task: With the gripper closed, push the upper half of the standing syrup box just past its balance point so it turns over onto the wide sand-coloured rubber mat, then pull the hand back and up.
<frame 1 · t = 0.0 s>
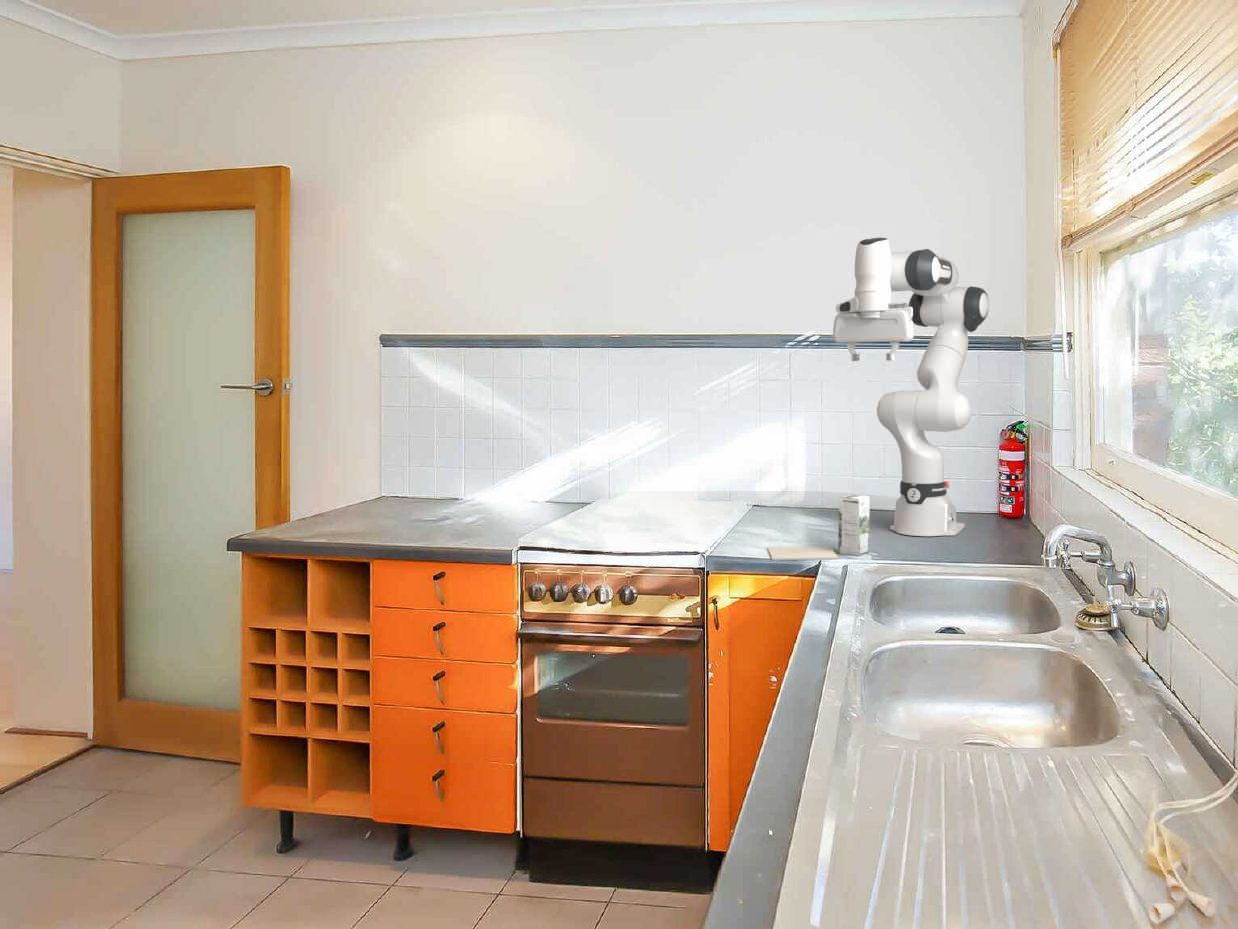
hand: (872, 360, 263), 48 cm above the counter, fingers open, 8 cm apart
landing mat: (801, 553, 267), on the counter
syrup box: (853, 554, 266), on the counter
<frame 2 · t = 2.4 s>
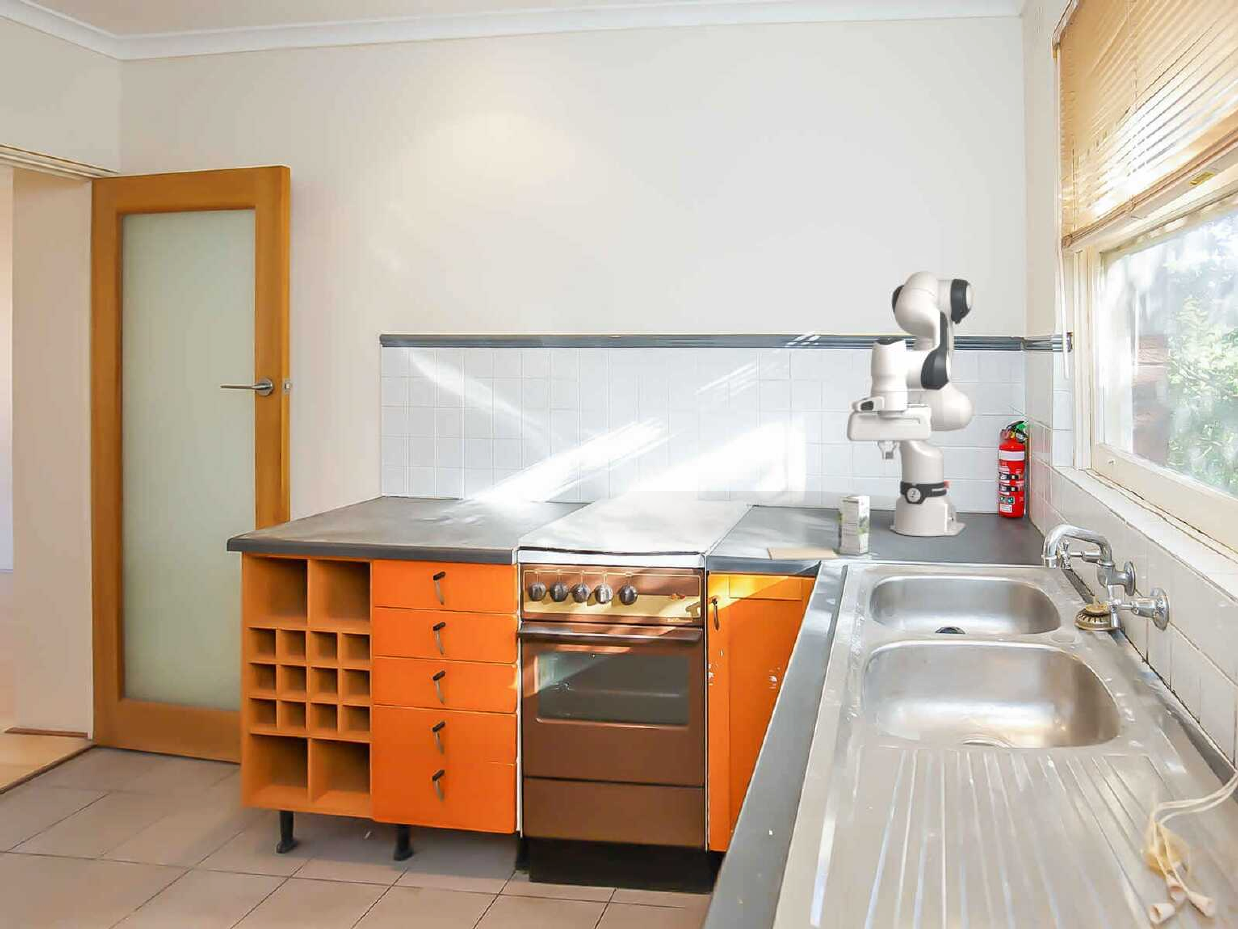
hand: (888, 459, 263), 24 cm above the counter, fingers closed
nothing on the counter moved.
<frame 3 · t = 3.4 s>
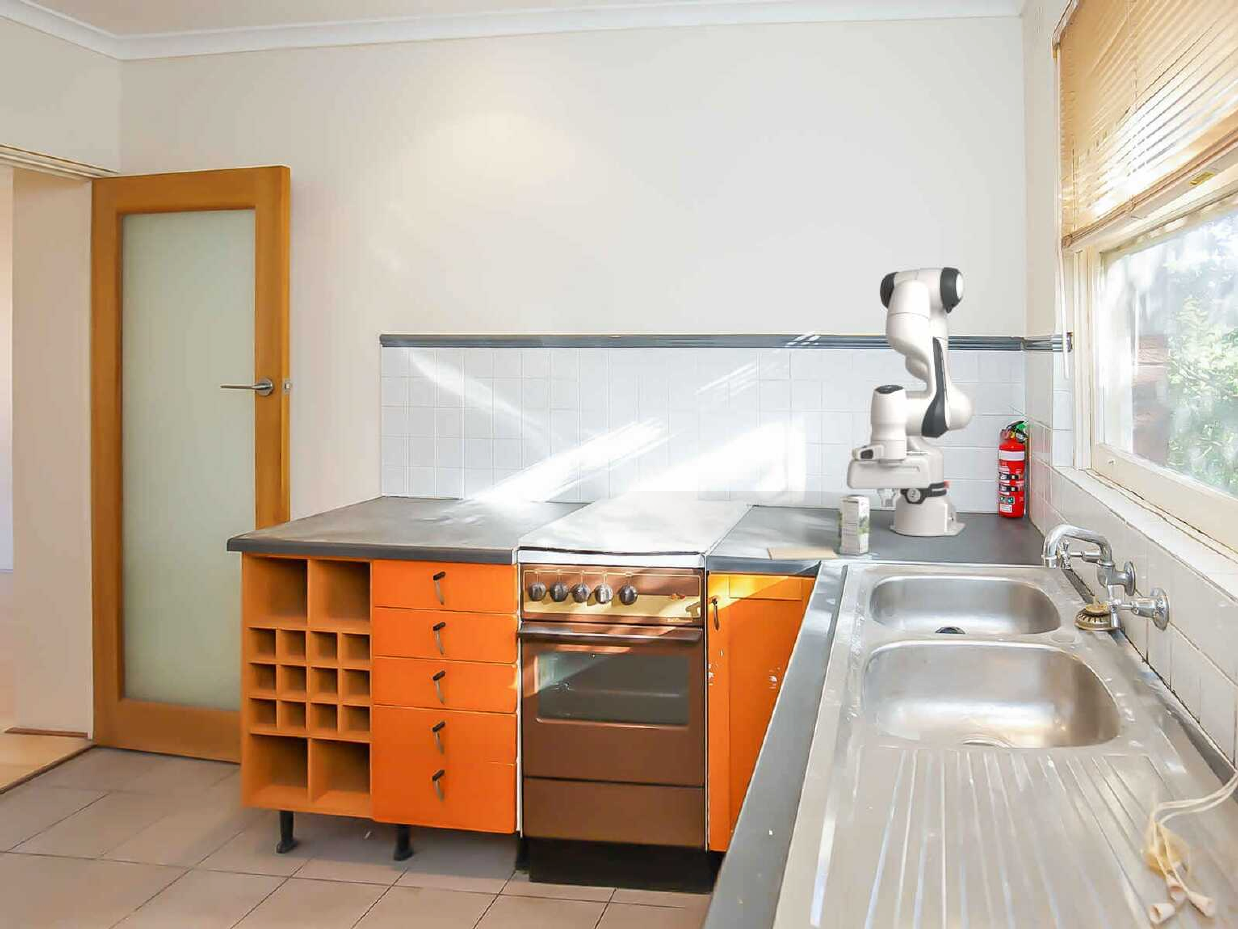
hand: (888, 506, 264), 12 cm above the counter, fingers closed
nothing on the counter moved.
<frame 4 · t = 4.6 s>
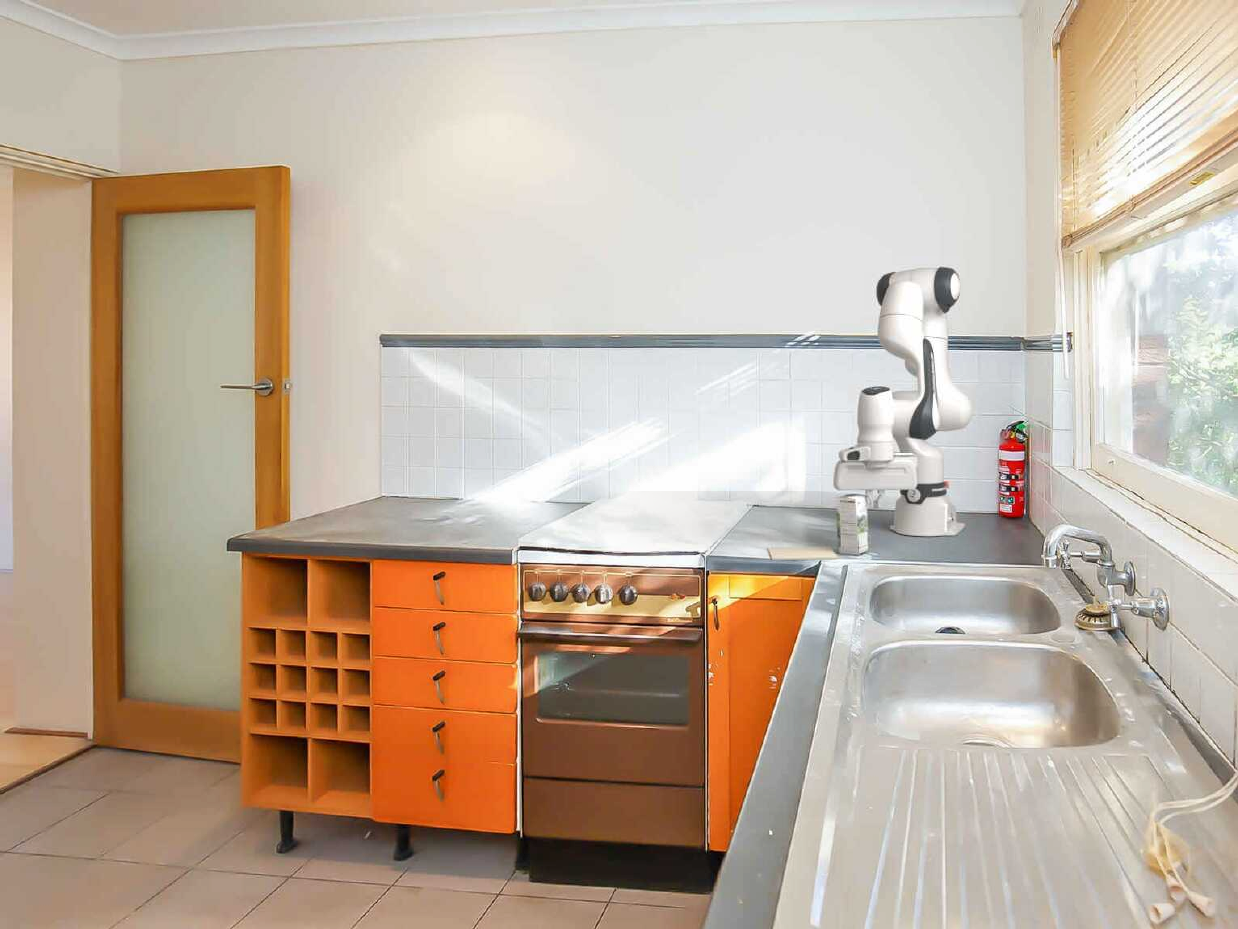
hand: (874, 507, 264), 12 cm above the counter, fingers closed
syrup box: (853, 553, 266), on the counter, touching gripper
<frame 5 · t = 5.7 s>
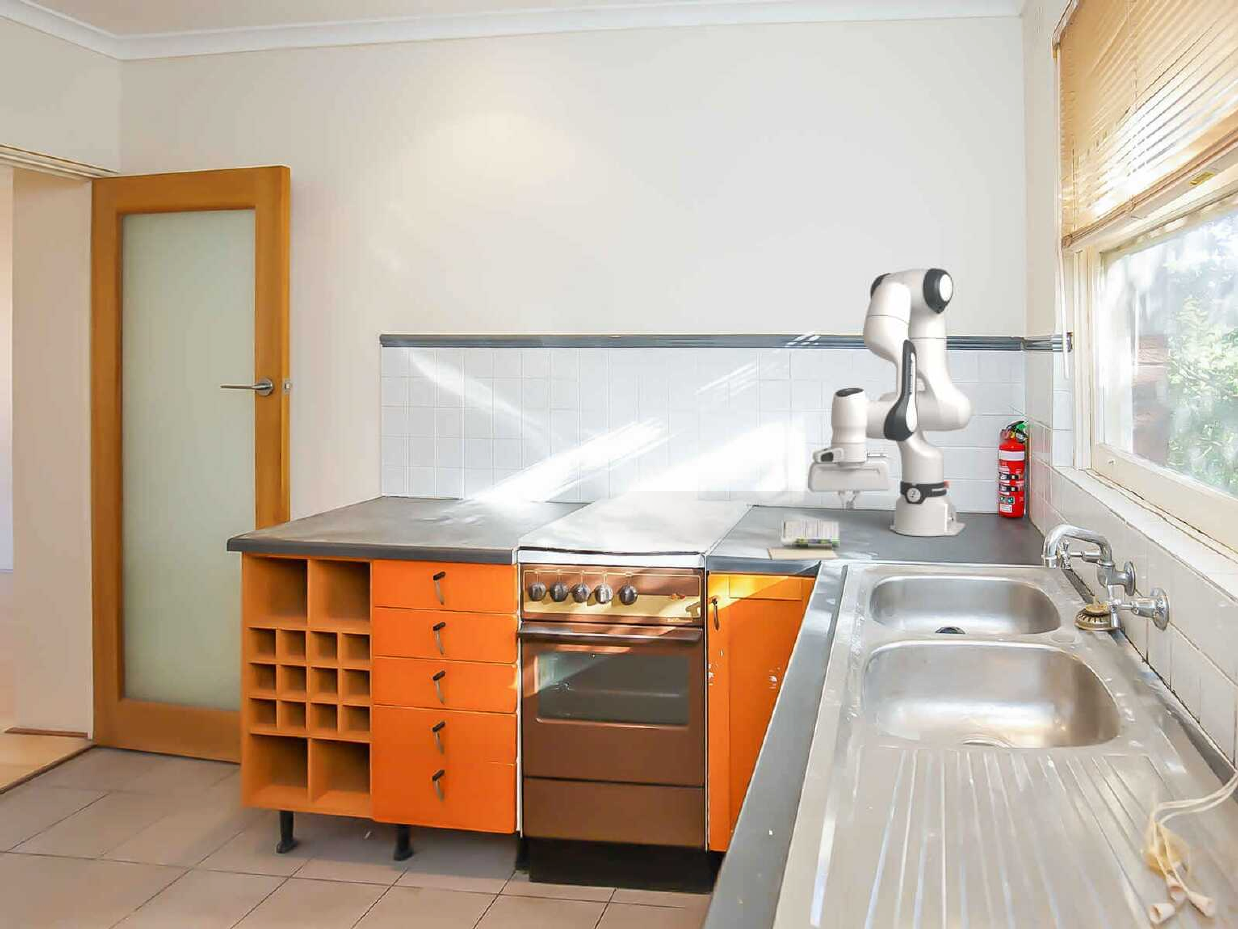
hand: (849, 508, 265), 11 cm above the counter, fingers closed
syrup box: (839, 534, 270), point 4 cm above the counter, touching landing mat
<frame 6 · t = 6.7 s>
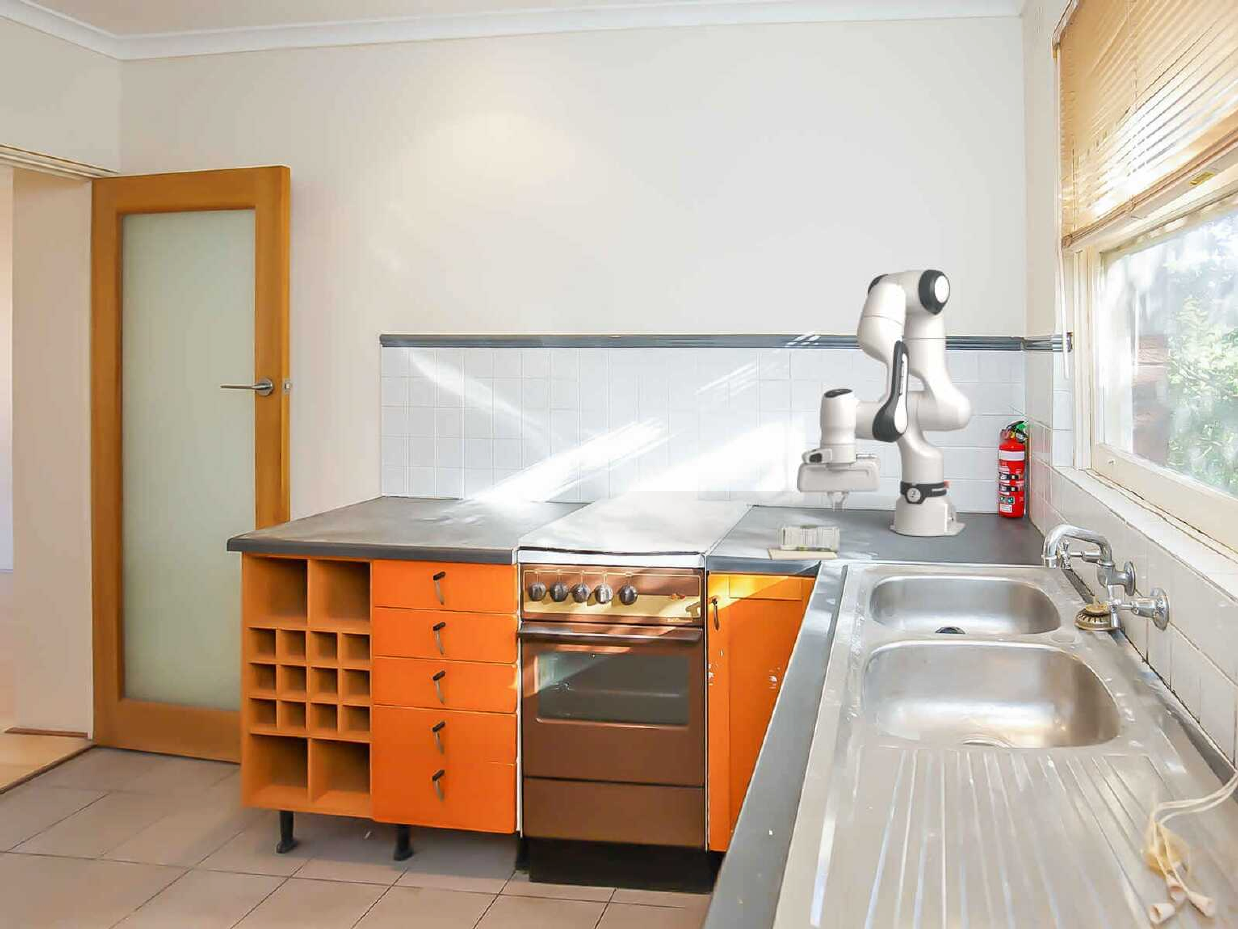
hand: (838, 509, 265), 11 cm above the counter, fingers closed
syrup box: (839, 538, 268), point 3 cm above the counter, touching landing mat
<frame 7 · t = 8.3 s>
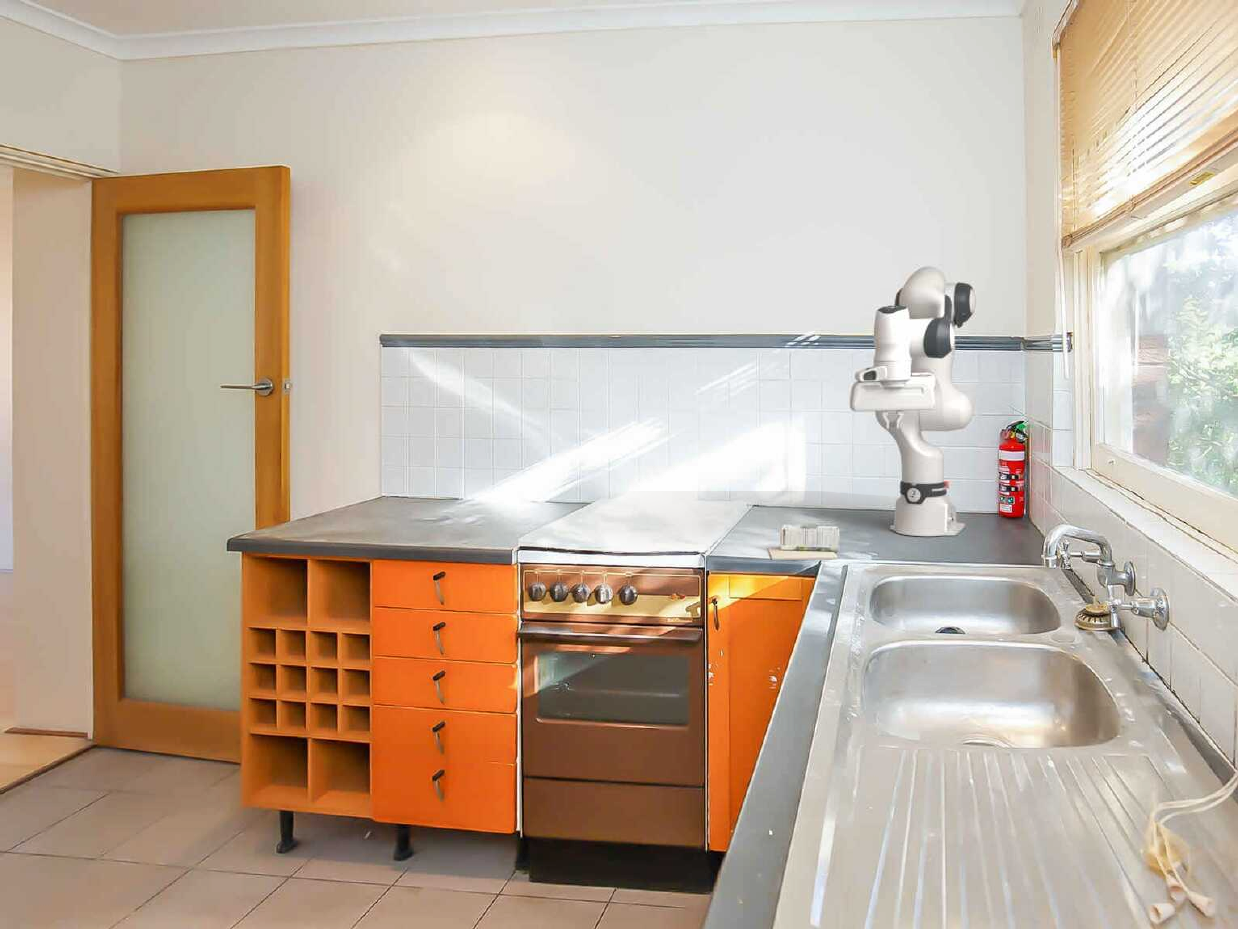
hand: (892, 429, 261), 31 cm above the counter, fingers closed
nothing on the counter moved.
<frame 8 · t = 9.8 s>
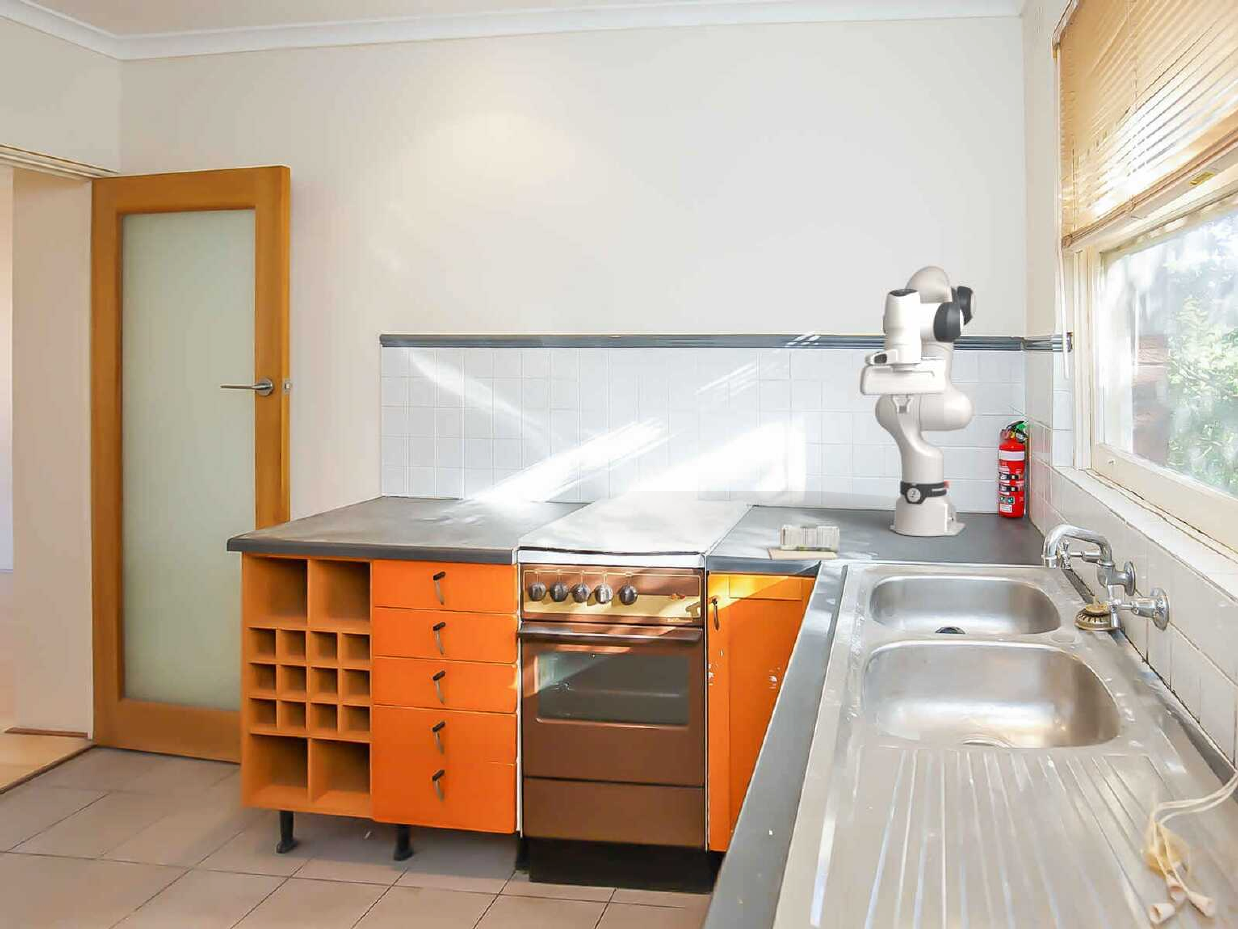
hand: (902, 413, 259), 35 cm above the counter, fingers closed
nothing on the counter moved.
at the end: syrup box tilted 90°; syrup box touching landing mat; the gripper is holding nothing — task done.
